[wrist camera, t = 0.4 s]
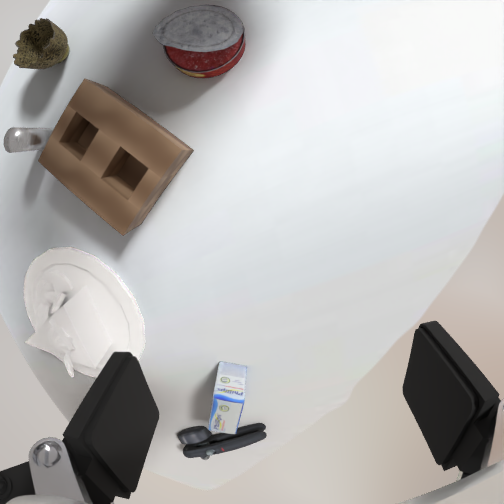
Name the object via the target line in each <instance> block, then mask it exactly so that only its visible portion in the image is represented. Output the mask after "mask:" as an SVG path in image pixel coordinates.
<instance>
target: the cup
mask: <svg viewBox="0 0 504 504" xmlns="http://www.w3.org/2000/svg"><path fill="white" fill-rule="evenodd" d="M15 44H16V46H17V47H19V48H18V50H17V54H14V55H13V58H15V61H14V64H15V65H17V66H19V68H30V69H46V68H49V67H52V66H53V65H55V64H58V63H61V62H62V61H64V60H65V59H66V57H67V56H68V54H69V45H68V40H67V36H66V34H65V33H64V32H63V31H62V30H61V29H60V28H59V27H58V26H57V25H55V24H54V23H53V22H51V21H50V20H49V19H47V18H46V19H42V18H40V20H35V25H33V24H29V29H27V30H24V31H23V32H21V34H20V40H18V41H17V42H16V43H15Z"/></svg>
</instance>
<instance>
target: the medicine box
mask: <svg viewBox="0 0 504 504" xmlns="http://www.w3.org/2000/svg"><path fill="white" fill-rule="evenodd" d="M246 369H247V367H246V366H244V365H238V364H233V363H227V362H222V361H220V362H219V366H218V371H217V377H216V382H215V388H214V393H213V399H212V406H211V412H210V418H209V424H208V430H211V431H216V432H221V433H228V434H236V431H237V428H238V424H239V420H240V417H241V413H242V409H243V405H244V400H245V384H246Z"/></svg>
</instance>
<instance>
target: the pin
mask: <svg viewBox="0 0 504 504" xmlns="http://www.w3.org/2000/svg"><path fill="white" fill-rule="evenodd" d="M53 130H54V129H53V128H10V129H9V130H8V131H7V132H6V134H5V137H4V147H5V150H6V151H7V152H9V153H12V152H22V151H35V150H44V148H45V146H46V144H47V142H48V140H49V138H50V136H51V134H52V132H53Z"/></svg>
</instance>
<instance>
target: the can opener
mask: <svg viewBox="0 0 504 504" xmlns="http://www.w3.org/2000/svg"><path fill="white" fill-rule="evenodd" d="M265 428H266V426H265V425H264V424H262V423H257V424H252V425H248V426H244V427H241V428H238V429H237V431H236V434H228V433H223V434H219V435H215V436H211V435H212V433H211V432H210V431H209V430H208V429H207V428H206V427H204V426H196V427H191V428H188V429H185V430H183V431H181V432H179V433H178V435H177V436H178V438H179V440H180V442H181V443H182V444H186V445H185V447H184V448H183V454H184V455H185V456H186V457H188V458H194V457H201V458H202V459H203V460H207V459H209V457H210V455H214V454H219V453H223V452H228V451H232V450H235V449H239V448H242V447H245V446H248V445H251V444H253V443H256V442H258V441H260V440H263V439H264V438H266V433H265V432H264V430H265Z"/></svg>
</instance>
